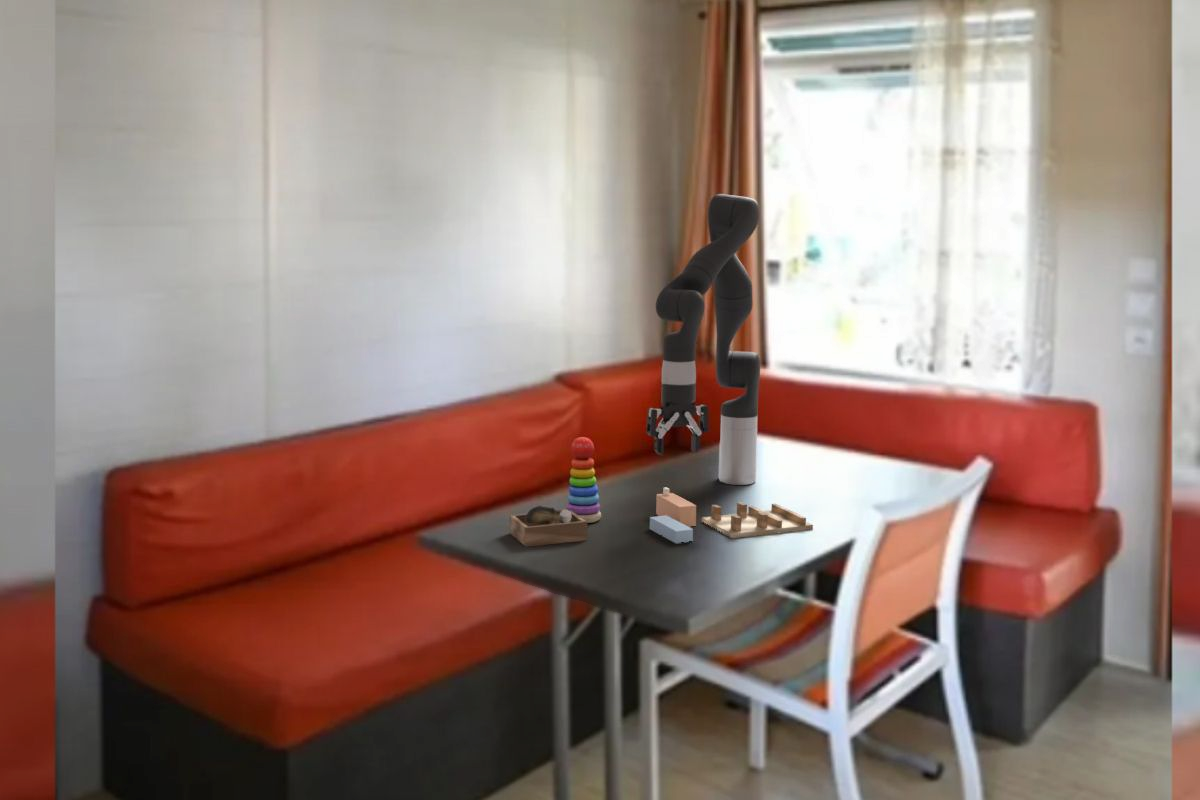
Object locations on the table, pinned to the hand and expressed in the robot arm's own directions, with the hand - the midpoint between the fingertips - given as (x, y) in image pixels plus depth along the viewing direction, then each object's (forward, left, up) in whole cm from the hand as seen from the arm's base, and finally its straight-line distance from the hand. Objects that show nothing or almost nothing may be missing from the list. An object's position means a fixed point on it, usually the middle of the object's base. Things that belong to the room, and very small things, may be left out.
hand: (677, 453), depth 265 cm
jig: (+10, +15, -15) cm, 24 cm away
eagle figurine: (+2, -31, -15) cm, 35 cm away
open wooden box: (+2, -31, -15) cm, 35 cm away
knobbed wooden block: (0, 0, -16) cm, 16 cm away
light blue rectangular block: (+10, -6, -16) cm, 20 cm away
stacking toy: (-8, -19, -16) cm, 26 cm away
